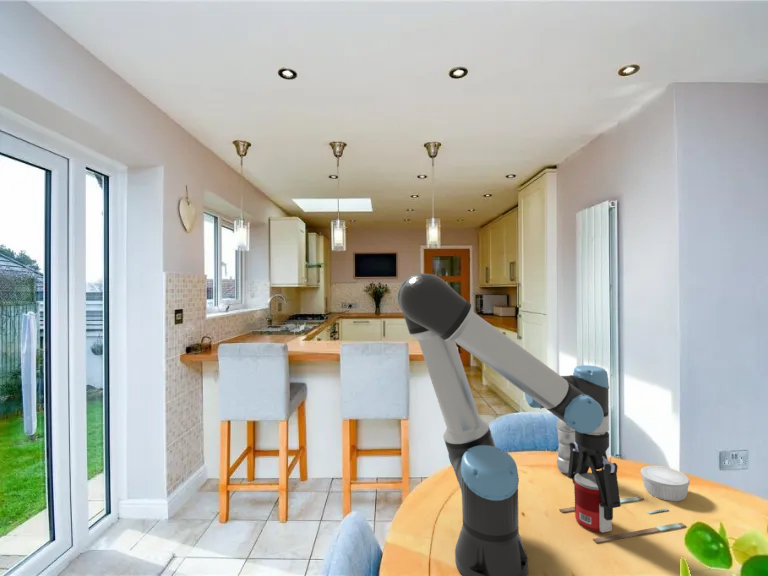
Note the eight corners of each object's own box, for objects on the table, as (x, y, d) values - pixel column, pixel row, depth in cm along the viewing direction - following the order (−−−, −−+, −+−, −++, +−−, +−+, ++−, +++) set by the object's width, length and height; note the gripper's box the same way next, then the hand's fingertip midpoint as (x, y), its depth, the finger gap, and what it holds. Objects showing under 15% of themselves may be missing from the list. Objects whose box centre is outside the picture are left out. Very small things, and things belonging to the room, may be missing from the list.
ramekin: (644, 498, 109) (644, 479, 109) (638, 479, 119) (638, 462, 119) (694, 508, 104) (694, 488, 104) (684, 487, 114) (683, 469, 114)
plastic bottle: (553, 472, 125) (552, 409, 124) (562, 464, 129) (561, 404, 129) (574, 479, 120) (573, 413, 119) (583, 471, 124) (582, 408, 124)
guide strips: (596, 543, 91) (596, 542, 91) (559, 510, 104) (559, 508, 104) (693, 525, 97) (692, 524, 97) (645, 496, 110) (645, 494, 110)
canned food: (616, 534, 94) (615, 488, 94) (579, 531, 96) (579, 486, 96) (605, 515, 102) (604, 473, 101) (571, 512, 103) (570, 470, 103)
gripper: (639, 444, 89) (640, 544, 89) (576, 414, 109) (577, 496, 110) (610, 448, 87) (611, 550, 88) (552, 416, 107) (553, 499, 108)
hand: (592, 520), depth 99 cm, fingers closed on canned food, 8 cm apart
